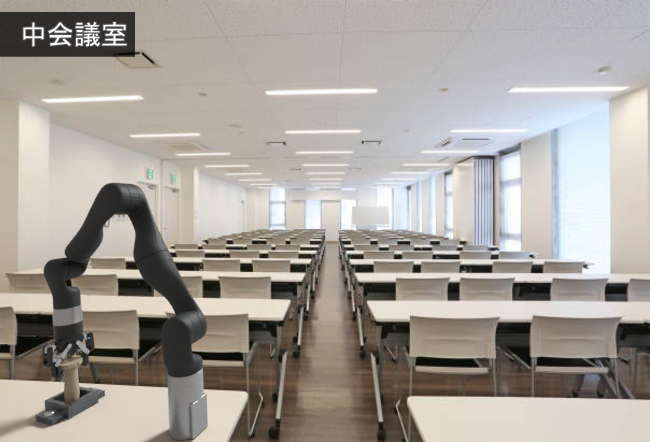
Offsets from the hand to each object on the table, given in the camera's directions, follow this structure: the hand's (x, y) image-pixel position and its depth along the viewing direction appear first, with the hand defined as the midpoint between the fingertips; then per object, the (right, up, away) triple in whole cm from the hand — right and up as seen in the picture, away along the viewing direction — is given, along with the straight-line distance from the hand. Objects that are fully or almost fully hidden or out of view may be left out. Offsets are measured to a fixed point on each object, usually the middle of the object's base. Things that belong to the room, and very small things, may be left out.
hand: (71, 371), depth 109 cm
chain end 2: (+1, -12, +3) cm, 12 cm away
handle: (0, -12, 0) cm, 12 cm away
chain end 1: (-1, -12, -2) cm, 12 cm away
